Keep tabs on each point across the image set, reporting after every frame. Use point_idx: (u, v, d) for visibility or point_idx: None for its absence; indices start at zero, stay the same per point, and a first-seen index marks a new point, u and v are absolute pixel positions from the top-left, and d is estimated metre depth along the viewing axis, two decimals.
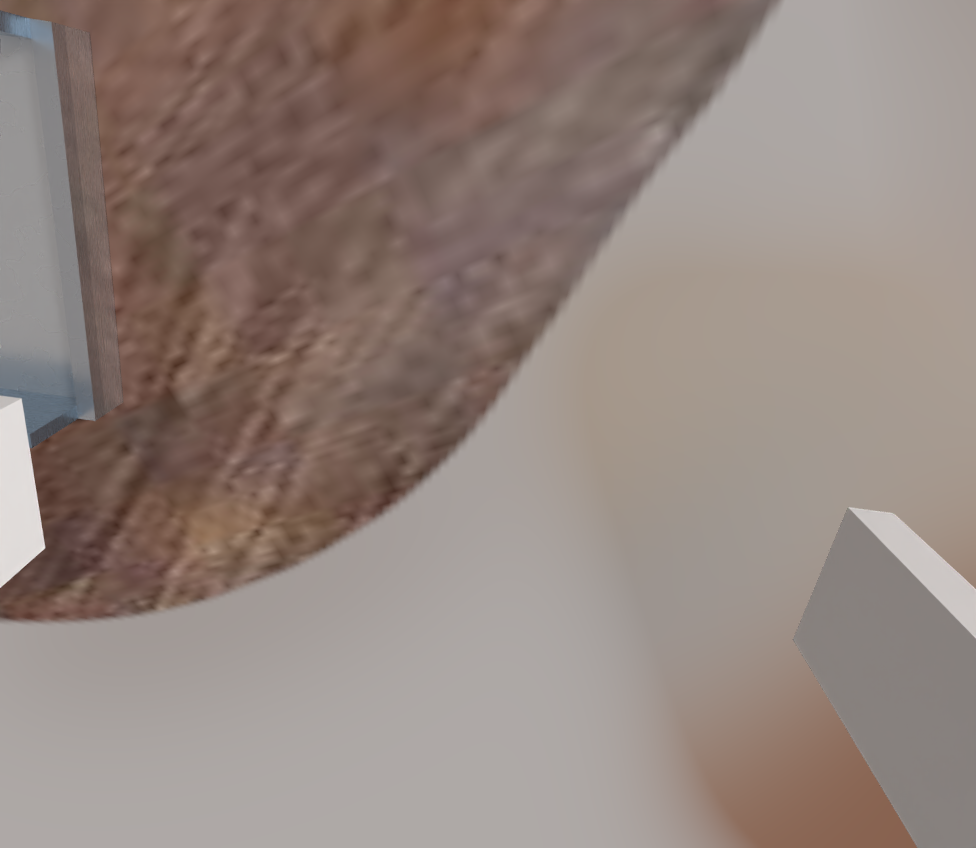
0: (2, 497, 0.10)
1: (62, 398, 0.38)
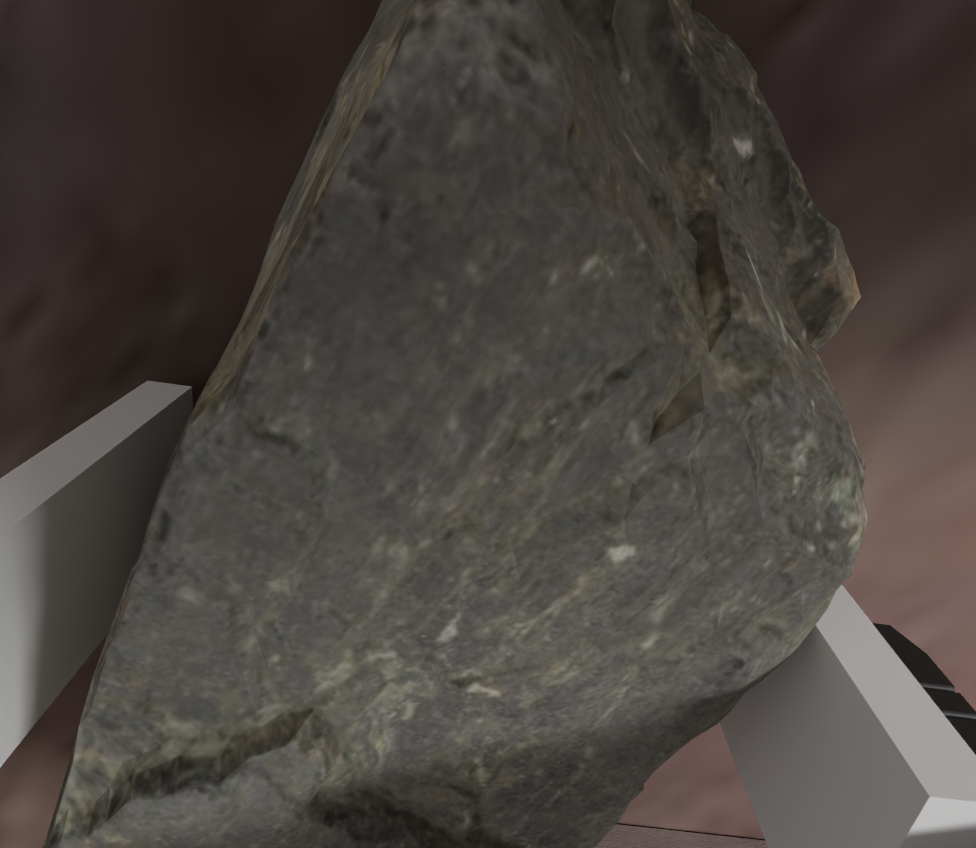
0: None
1: None
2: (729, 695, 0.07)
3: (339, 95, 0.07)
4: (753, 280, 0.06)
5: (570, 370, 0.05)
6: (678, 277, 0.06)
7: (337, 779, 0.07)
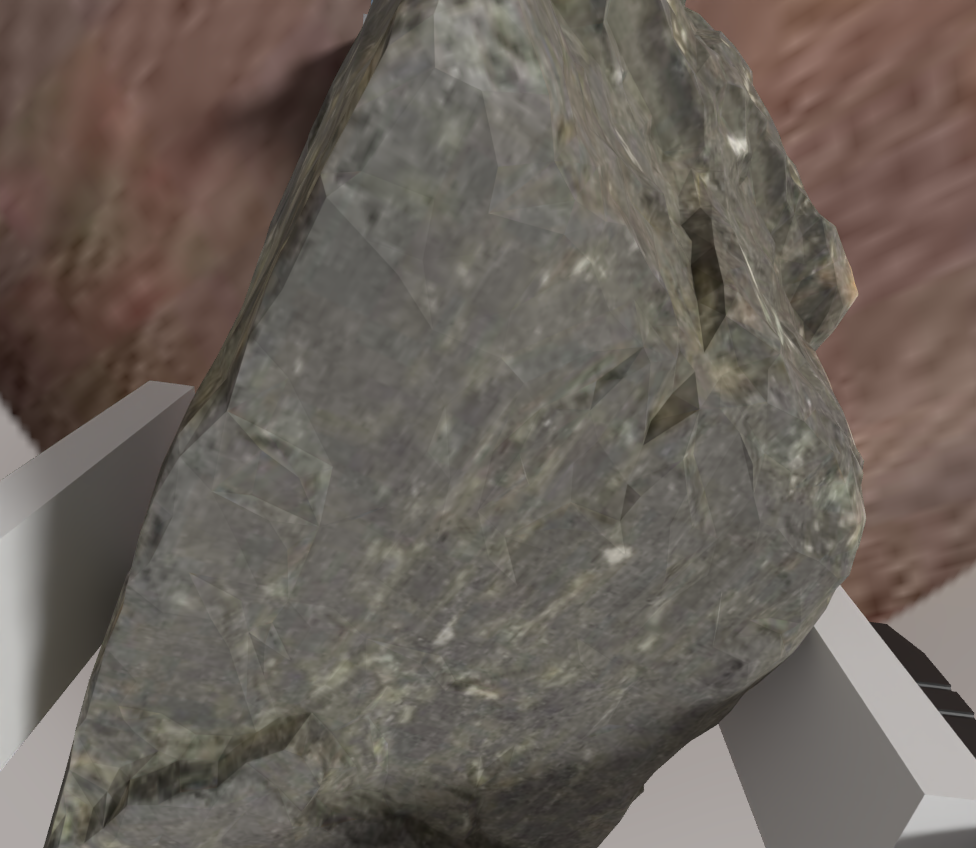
0: None
1: None
2: (728, 696, 0.07)
3: (331, 97, 0.07)
4: (748, 279, 0.06)
5: (563, 372, 0.05)
6: (672, 277, 0.06)
7: (336, 782, 0.07)
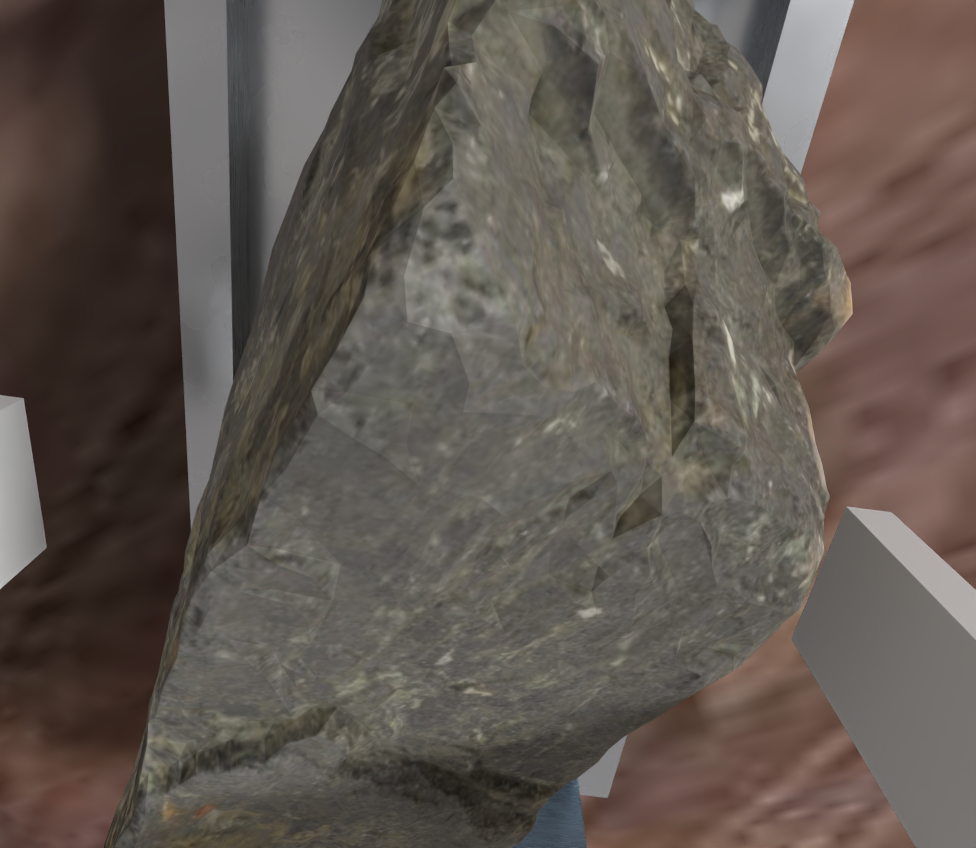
0: (4, 497, 0.10)
1: None
2: (687, 694, 0.08)
3: (322, 152, 0.07)
4: (724, 367, 0.06)
5: (537, 500, 0.05)
6: (647, 382, 0.06)
7: (361, 747, 0.09)
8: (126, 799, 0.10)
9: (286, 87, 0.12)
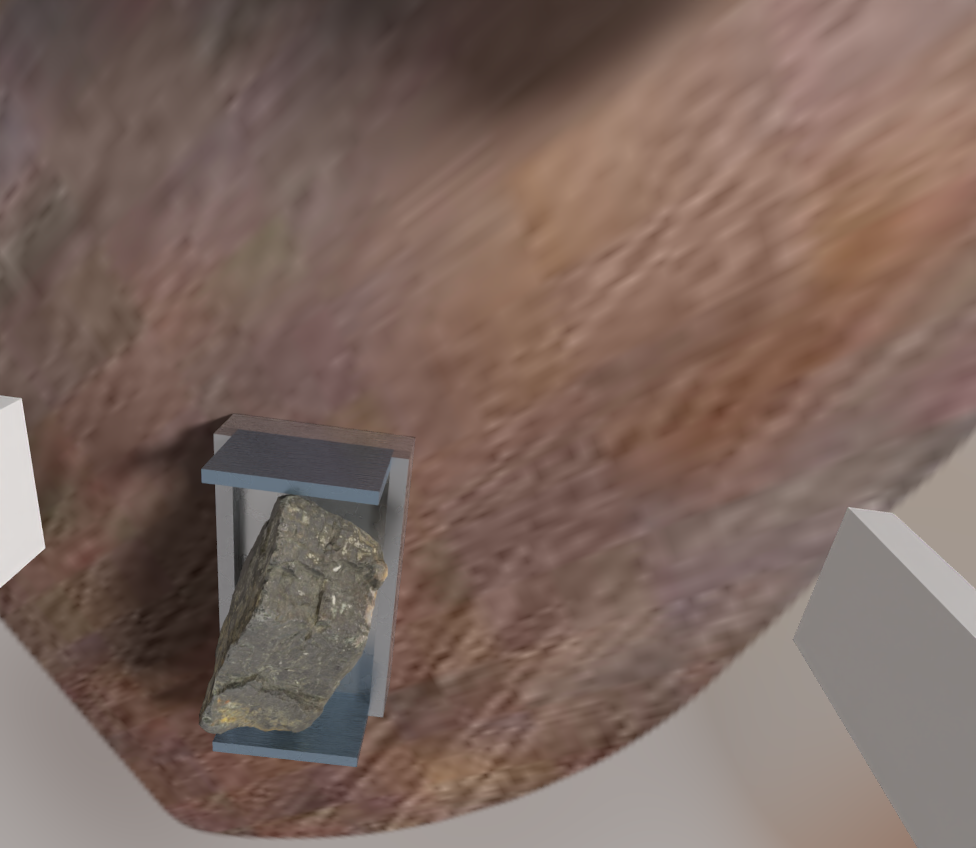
0: (2, 497, 0.10)
1: (353, 697, 0.45)
2: (340, 670, 0.35)
3: (252, 559, 0.34)
4: (328, 607, 0.33)
5: (286, 636, 0.32)
6: (310, 612, 0.33)
7: (266, 684, 0.35)
8: (206, 699, 0.36)
9: None
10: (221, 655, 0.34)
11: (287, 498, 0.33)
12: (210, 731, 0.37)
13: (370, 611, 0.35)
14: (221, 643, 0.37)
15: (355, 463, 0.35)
